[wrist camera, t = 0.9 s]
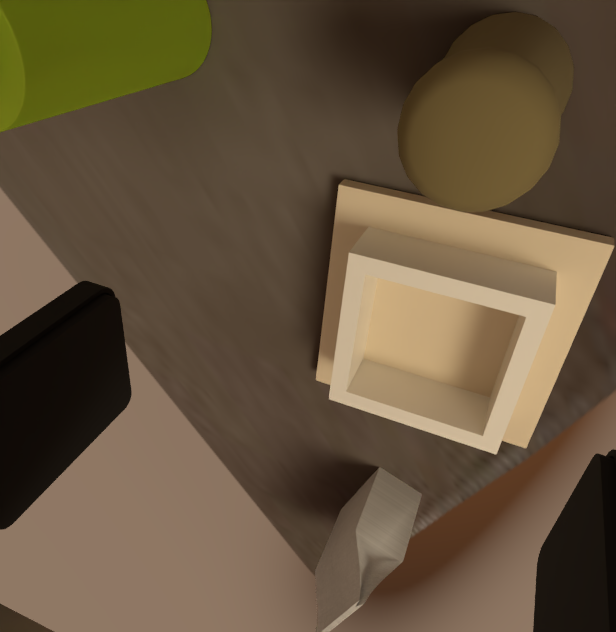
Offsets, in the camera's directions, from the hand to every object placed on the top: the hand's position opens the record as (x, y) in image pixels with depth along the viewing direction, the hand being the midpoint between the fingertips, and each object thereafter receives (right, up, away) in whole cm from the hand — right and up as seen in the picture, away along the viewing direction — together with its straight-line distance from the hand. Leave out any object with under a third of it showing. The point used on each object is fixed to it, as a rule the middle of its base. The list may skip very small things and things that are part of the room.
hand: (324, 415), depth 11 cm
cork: (+9, +13, +15) cm, 22 cm away
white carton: (+5, -13, +33) cm, 36 cm away
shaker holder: (+8, +2, +22) cm, 24 cm away
